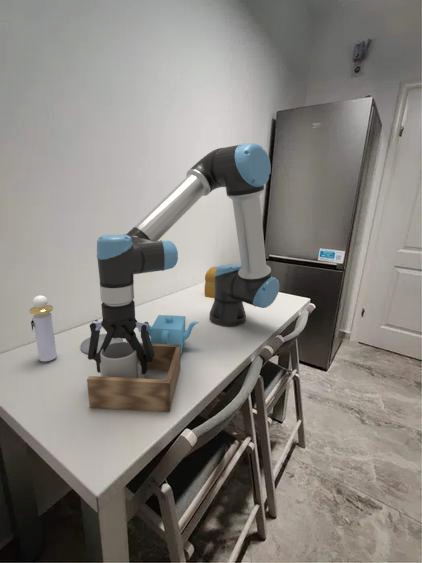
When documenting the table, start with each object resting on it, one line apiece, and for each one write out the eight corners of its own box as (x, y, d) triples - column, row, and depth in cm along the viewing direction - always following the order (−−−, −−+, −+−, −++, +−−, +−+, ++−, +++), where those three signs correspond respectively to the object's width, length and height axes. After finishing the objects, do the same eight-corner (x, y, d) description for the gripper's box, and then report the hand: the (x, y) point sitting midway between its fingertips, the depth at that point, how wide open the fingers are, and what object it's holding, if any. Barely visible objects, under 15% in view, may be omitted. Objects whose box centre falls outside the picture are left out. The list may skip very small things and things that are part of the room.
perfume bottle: (61, 353, 86) (54, 291, 80) (56, 363, 80) (47, 298, 75) (41, 355, 84) (31, 292, 79) (33, 365, 79) (23, 299, 74)
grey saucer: (128, 336, 98) (128, 334, 97) (114, 356, 85) (114, 353, 85) (91, 335, 98) (91, 333, 98) (72, 354, 85) (72, 351, 85)
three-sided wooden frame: (180, 368, 80) (180, 344, 78) (169, 411, 63) (169, 383, 61) (116, 365, 80) (115, 341, 78) (89, 407, 64) (86, 379, 62)
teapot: (149, 337, 98) (148, 307, 95) (200, 339, 98) (201, 309, 95) (136, 361, 83) (134, 327, 80) (196, 364, 82) (197, 329, 79)
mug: (117, 405, 65) (114, 363, 62) (96, 390, 70) (92, 351, 67) (155, 380, 74) (154, 343, 71) (134, 369, 79) (132, 333, 76)
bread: (203, 297, 142) (204, 268, 138) (210, 290, 154) (211, 263, 150) (251, 303, 136) (253, 273, 132) (254, 295, 148) (256, 268, 144)
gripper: (166, 297, 69) (167, 376, 75) (80, 294, 70) (88, 373, 76) (159, 308, 62) (161, 394, 68) (64, 304, 62) (75, 390, 68)
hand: (123, 383), depth 72 cm, fingers closed on mug, 9 cm apart
